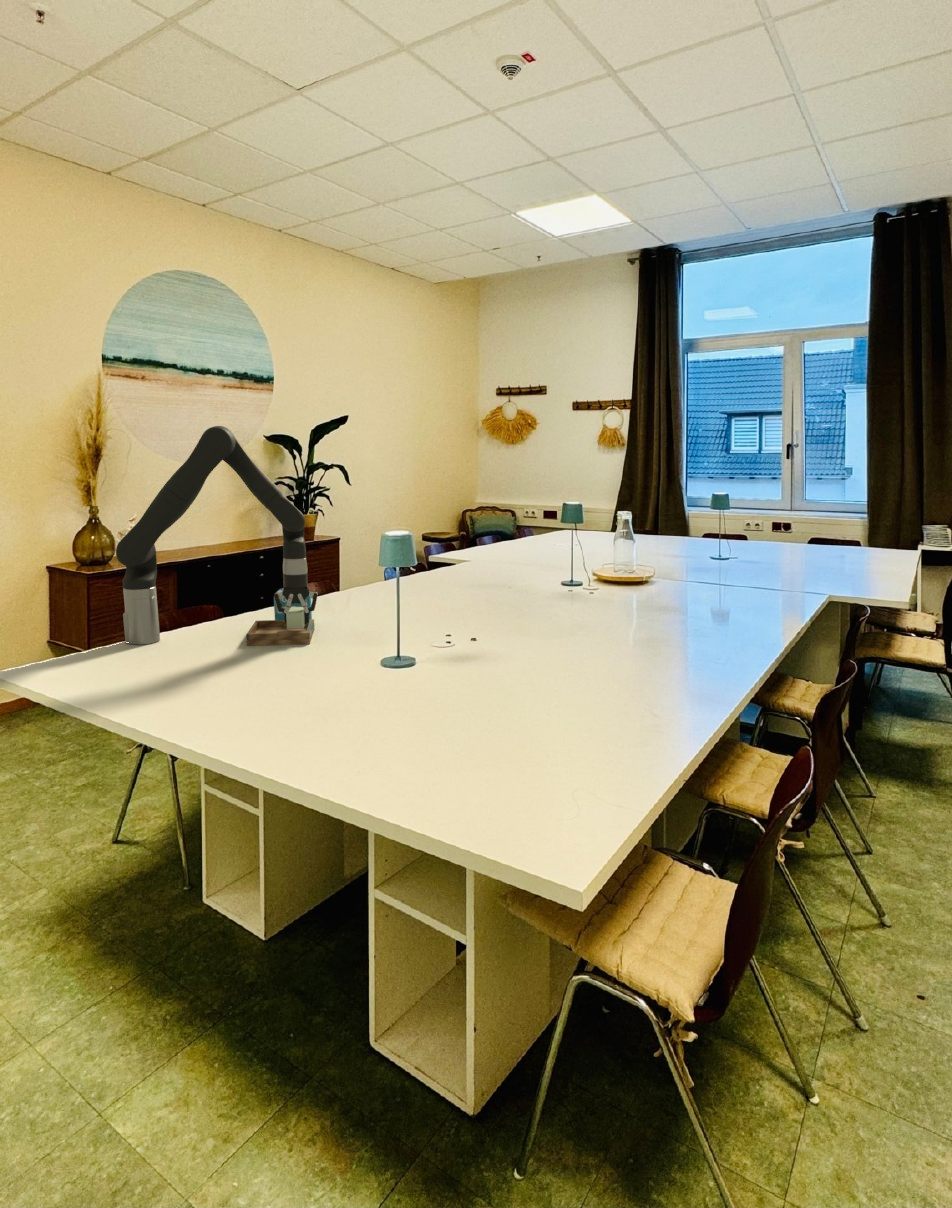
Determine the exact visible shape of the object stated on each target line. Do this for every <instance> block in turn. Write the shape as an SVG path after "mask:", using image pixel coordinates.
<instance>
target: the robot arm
mask: <svg viewBox="0 0 952 1208" xmlns="http://www.w3.org/2000/svg"><path fill="white" fill-rule="evenodd" d="M222 461H223V462H224V463H226V464H227V465H228V466H229V467H230V468H232V470H233V471H234V472H235V473H236V475H238V477H239V478H240V479H241V480H242V482H243V483H244V484H245V486H246V487H247V489H248V490H249V491H250V493H251V494H252V495H253V496H254V497H255V498H256V499H257V500H258V502H260V503H261V505H263V507H265V508H266V509H267V510H268V511H269V512H270V513H271V514H272V515H273V517H275V518H276V520H277V521H278V522H279V523H280V524H281V527H282V537H283V541H282V543H283V544H282V556H283V557H282V558H283V559H282V560H283V561H282V579H283V581H282V582H283V589H282V590H283V591H282V592H279V593H278V592H277V591H276V592H275V593H274V594H273V599H274V598H275V601H276V604H277V608H278V611H279V612H283V613H284V620H285V623H287V619H286V613H287V612H288V611H289V608H290V605H291V604H295V603H298V604H302V607H303V608H304V611H305V613H304V619H305V624H307V623H308V622H309V612H311V611H312V612H313V611H315V608H316V605H317V599H318V595H319V593H318V592H317V591H311V590H310V589H309V584H308V583H309V582H308V579H309V578H308V572H309V571H308V562H307V561H308V560H307V548H306V547H307V546H306V541H305V525H306V517H305V515H304V514H303V512H302V511H301V510H299V509H298V508H297V507H296V506H295V505H294V504H293V503H292V502H291V501H290V500H289V499H288V498H287V497H286V495H285V494H284V493H283V491H282V490H281V489H280V488H279V487H278V485H276V484H275V482H273V480H271V479H270V478H269V476H268V475H266V474H265V472H264V471H263V470H262V469H261V468H259V466H258V465H257V464H256V463H255V461H253V459H251V457H250V456H249V455H248V453H247V452H246V451H245V450H244V448H243V447H242V445H241V444H240V443H239V441H238V439H237V438H236V437H235V435H234V432H232V430H231V429H229V428H228V427H225V426H223V425H214V426H211V427H209V428H207V429H206V430H205V431H204V432H203V433H202V435H201V436H200V438H199V439H198V442H197V443H196V445H195V447H194V449H193V450H192V452H191V453H190V455H189V456H188V458H187V459H186V460H185V461H184V462H183V464H182V465H181V466H180V467H179V468H178V469H177V470H176V471H175V472H173V474H172V475H171V476H170V478H169V479H168V480H167V481H166V482H165V483H164V484H163V487H162V488H161V489H160V491H159V492H157V494H156V496H155V497H154V499H153V500H152V501H151V503H150V504H149V505H148V507H147V508H146V510H145V511H144V513H143V514H142V516H141V517H140V519H139V521H137V523H136V524H135V525H134V526H133V527H132V528H131V529H130V530H128V531H129V532H127V533H126V534H125V535H124V536H123V537H122V538H121V539H120V541H119V542H118V543H117V545H116V547H115V556H116V559H117V561H118V562H119V563H120V564H121V565H123V566H125V574H124V577H123V578H122V589H123V590H122V592H123V602H124V604H123V605H124V612H123V614H122V618H123V627H124V628H123V629H124V640H125V644H126V645H127V644H130V645H149V644H153V643H157V642H159V641H160V640H161V635H160V634H161V633H160V620H159V609H158V600H157V599H158V597H157V585H156V584H157V583H156V582H157V577H158V563H157V560H158V559H157V549H156V545H155V544H156V542H157V541H158V540H159V538H160V537H161V536H162V535H163V533H164V532H166V531H167V530H169V528H171V527H172V526H173V525H174V524H175V523H176V522H177V521H179V520H180V519H181V518H182V516H183V515H184V514H185V513H186V512H187V511H188V509H189V508H190V507H191V505H192V504H193V503H194V501H195V500H196V498H197V497H198V495H199V494H200V492H201V491H202V488H203V486H204V484H205V482H206V481H207V478H208V477H209V476H210V474H211V473H212V472H213V471H214V470H215V468H216V467H217V466H218V465H219V464H220V463H221V462H222ZM282 595H283V596H284V597H285V598H286V599H287V604H286V607H285V608H283V607H282V603H281V600H280V599H281V598H282ZM308 595H310V596H311V607H308V605H307V602H306V600H305V599H306V598H307V597H308ZM126 642H129V643H126Z"/></svg>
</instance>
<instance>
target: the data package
mask: <svg viewBox="0 0 952 1208" xmlns="http://www.w3.org/2000/svg"><path fill="white" fill-rule="evenodd" d="M282 591H283V589H282V590H281V589H280V590H277V591H276V592H278V593H279V592H282ZM280 600H281V603H282V607H283V608H285V607H286V604H287V599H286V598H285V597H284V596H283V595H282V598H281V599H280ZM305 600H306V602H307V605H308V607H311V605H312V599H311V596H310V595H308V597H307V598H306V599H305ZM273 606H274V607H273V610H274V612H273V613H274V620H284V613H283V612H279V611H278V608H277V604H276V601H275V598H274V597H273ZM291 607H302V604H298V603H295V604H291V605H290V608H291ZM290 608H289V609H290ZM312 612H313V611H311V612H309V619H313V614H312Z"/></svg>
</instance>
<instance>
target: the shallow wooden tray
mask: <svg viewBox="0 0 952 1208" xmlns="http://www.w3.org/2000/svg"><path fill="white" fill-rule="evenodd" d="M314 632H315V619H314V618H312V619H309V622H308V623H307V624H306V625H305V626H304V628H303V629H287V623H285V620H275V619H273V620H271V619H270V620H262V619H261V620H255V621H254V623H253V624H252V626H251V627H250V628H249V630H248V631H247V633H246V646H251V647H253V646H256V647H257V646H283V645H284V646H287V645H288V646H289V645H291V646H292V645H293V646H294V645H310V644H311V642H312V638H313V636H314Z"/></svg>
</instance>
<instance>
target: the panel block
mask: <svg viewBox="0 0 952 1208" xmlns="http://www.w3.org/2000/svg"><path fill="white" fill-rule="evenodd" d="M304 613H305V611H304V608H303V607H291V608H290V609H289V611H288V612H287V613H286V619H287V629H303V628H304V626H305V625H306V624H305V619H304Z"/></svg>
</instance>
